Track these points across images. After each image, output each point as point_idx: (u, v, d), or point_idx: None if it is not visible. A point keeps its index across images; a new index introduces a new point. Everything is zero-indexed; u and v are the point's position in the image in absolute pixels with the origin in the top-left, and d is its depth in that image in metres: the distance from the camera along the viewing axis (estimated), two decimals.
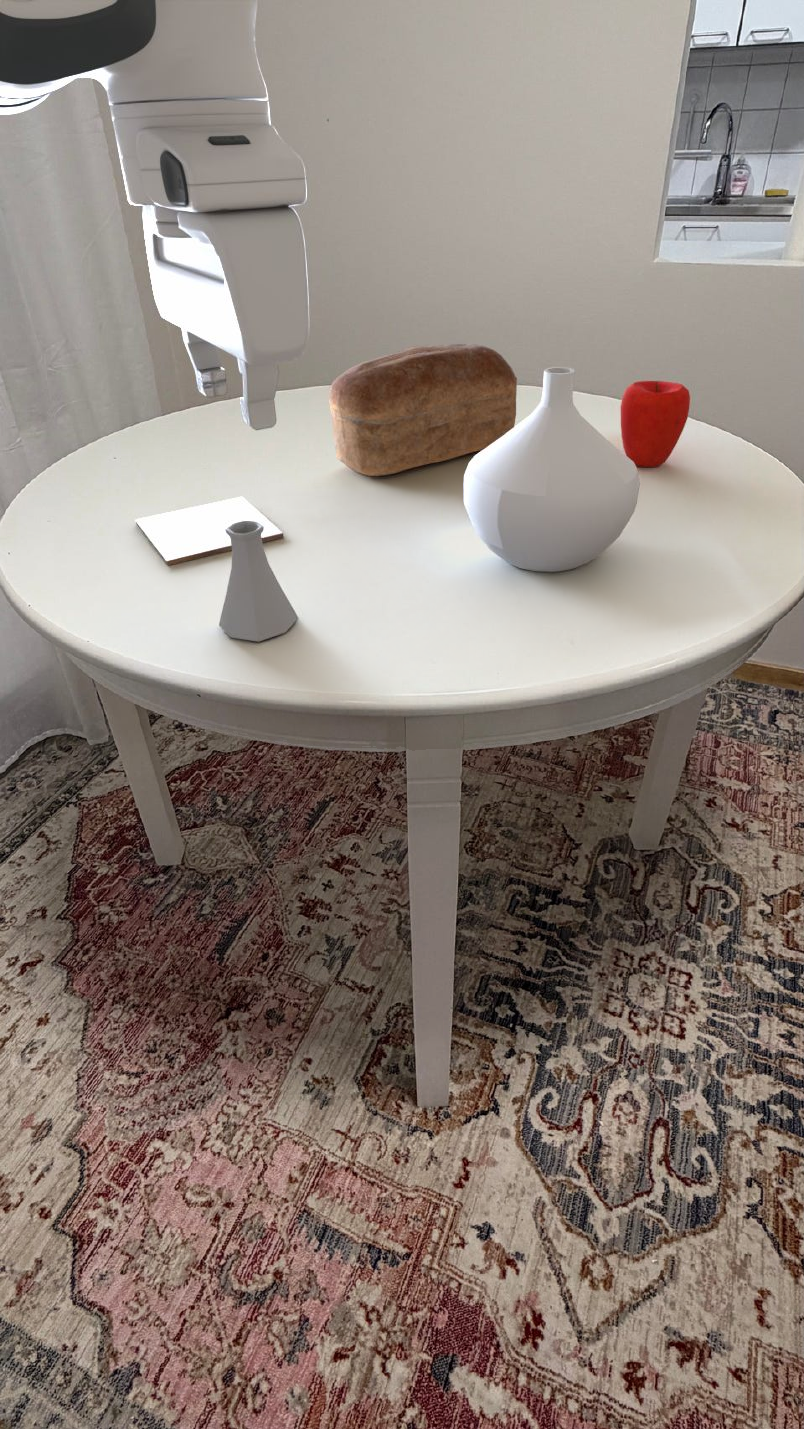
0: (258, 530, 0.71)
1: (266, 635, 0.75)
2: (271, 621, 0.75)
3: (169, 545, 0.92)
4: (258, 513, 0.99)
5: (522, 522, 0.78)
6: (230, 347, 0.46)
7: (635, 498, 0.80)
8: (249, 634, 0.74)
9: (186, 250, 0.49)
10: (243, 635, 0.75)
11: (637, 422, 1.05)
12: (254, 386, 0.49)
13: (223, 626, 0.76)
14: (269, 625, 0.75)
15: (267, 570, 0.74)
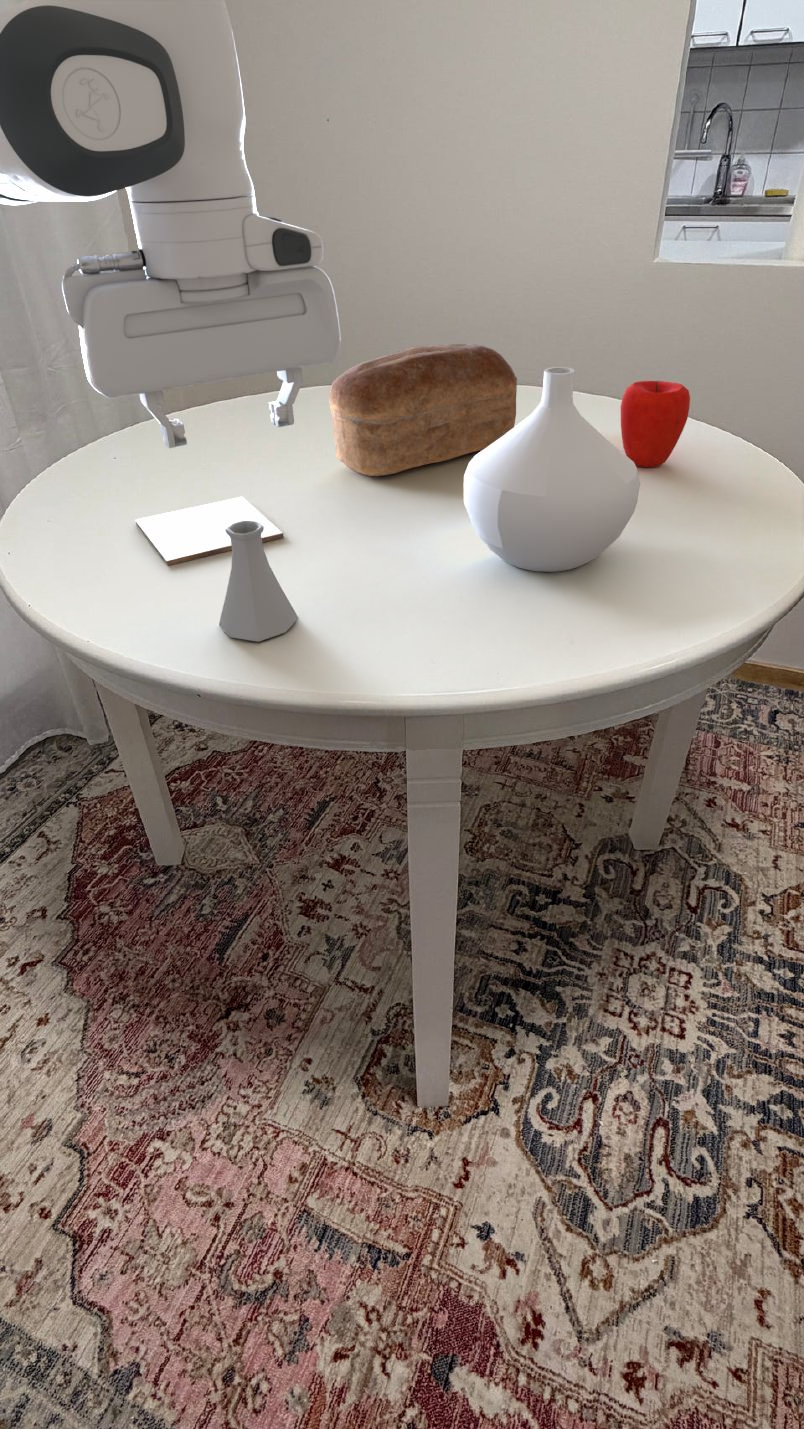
0: (258, 530, 0.71)
1: (266, 635, 0.75)
2: (271, 620, 0.75)
3: (169, 545, 0.92)
4: (258, 513, 0.99)
5: (522, 522, 0.78)
6: (303, 360, 0.65)
7: (635, 498, 0.80)
8: (249, 634, 0.74)
9: (213, 310, 0.60)
10: (243, 635, 0.75)
11: (637, 422, 1.05)
12: None
13: (223, 626, 0.76)
14: (269, 625, 0.75)
15: (267, 570, 0.74)
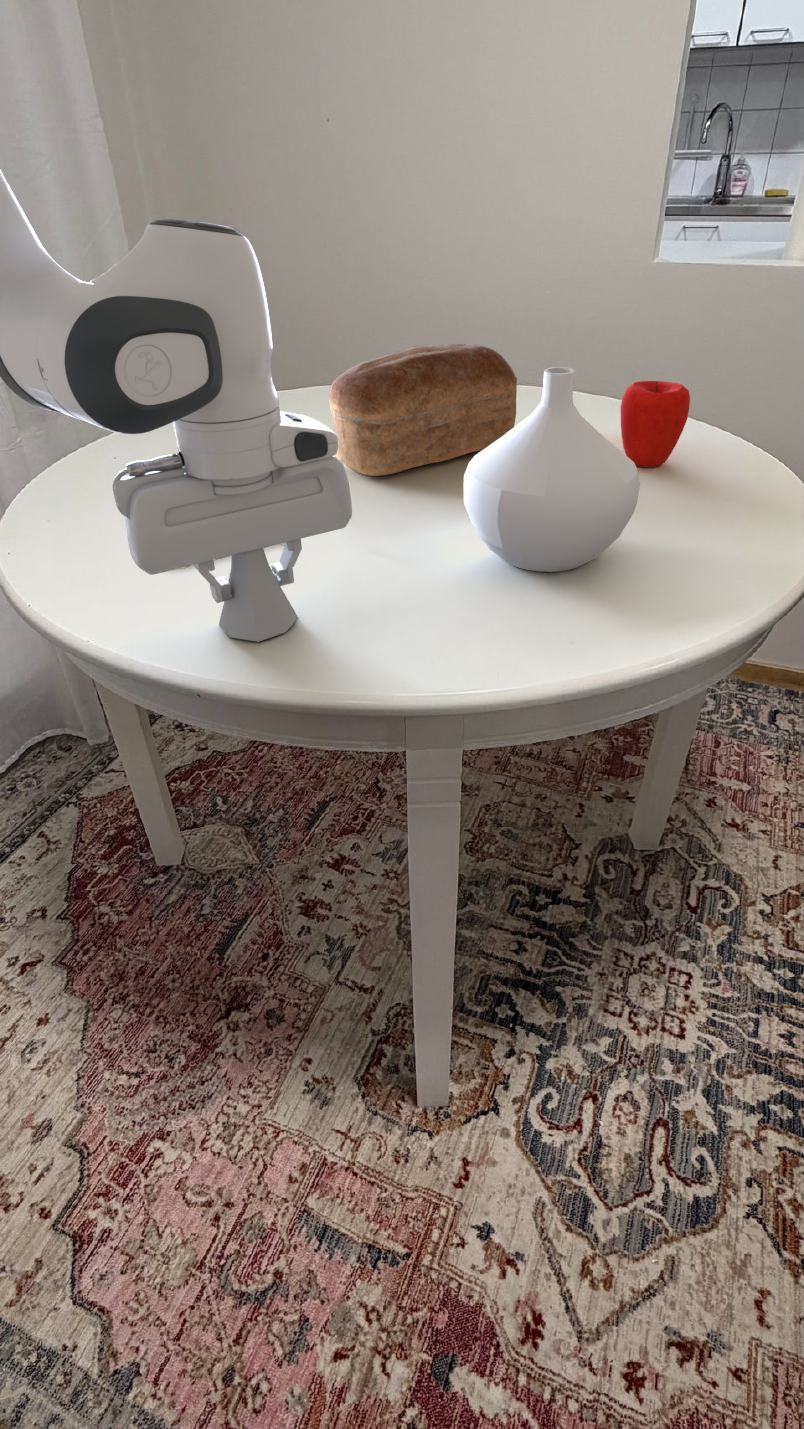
0: None
1: (266, 635, 0.75)
2: (271, 621, 0.75)
3: None
4: None
5: (522, 522, 0.78)
6: (319, 529, 0.74)
7: (635, 498, 0.80)
8: (249, 635, 0.74)
9: (242, 497, 0.69)
10: (243, 635, 0.75)
11: (637, 422, 1.05)
12: None
13: (223, 626, 0.76)
14: (269, 625, 0.75)
15: (267, 570, 0.74)
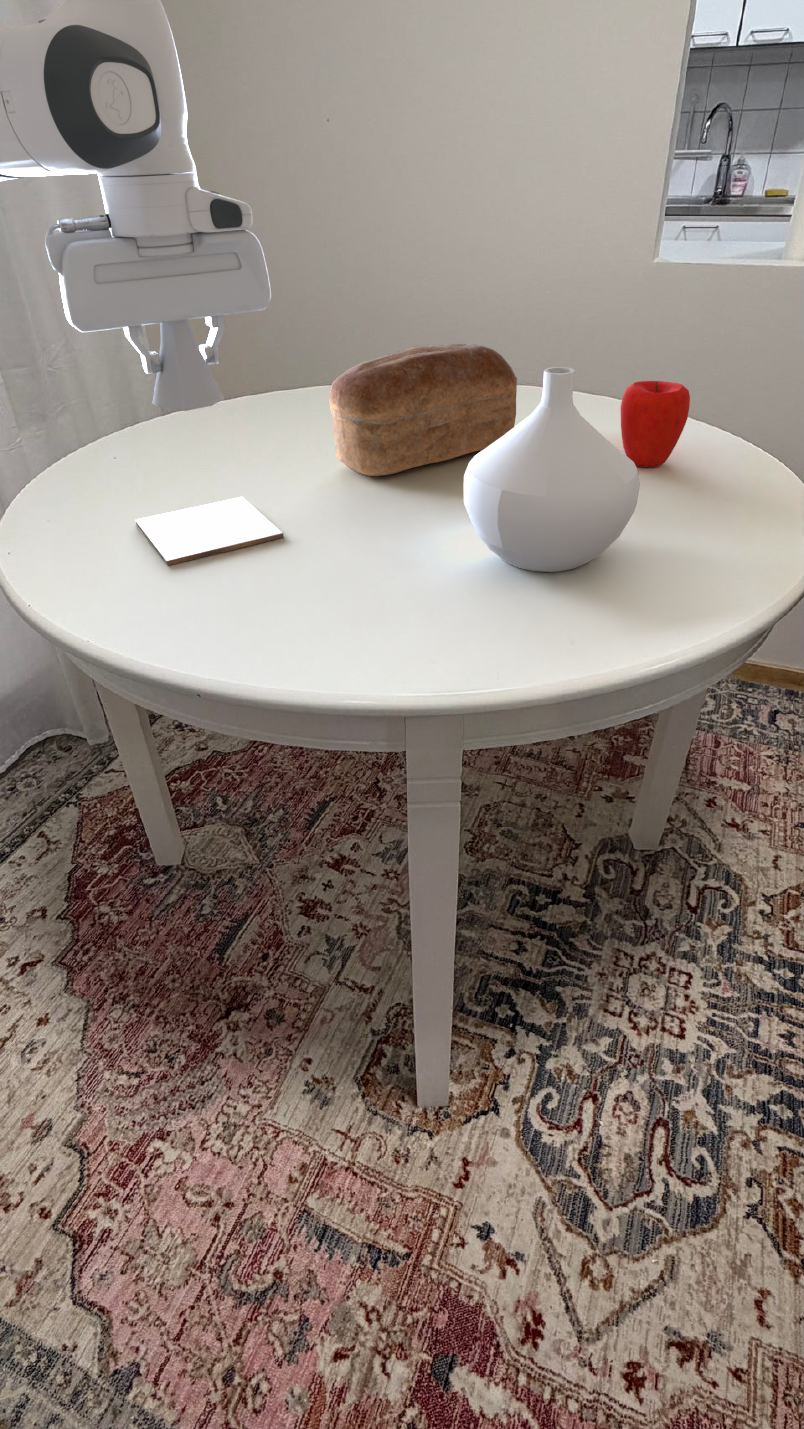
0: None
1: (193, 406, 0.82)
2: (198, 393, 0.82)
3: (169, 545, 0.92)
4: (258, 513, 0.99)
5: (522, 522, 0.78)
6: (240, 307, 0.81)
7: (635, 498, 0.80)
8: (177, 405, 0.82)
9: (165, 264, 0.76)
10: (172, 406, 0.82)
11: (637, 422, 1.05)
12: None
13: (155, 402, 0.84)
14: (195, 397, 0.82)
15: (193, 345, 0.81)
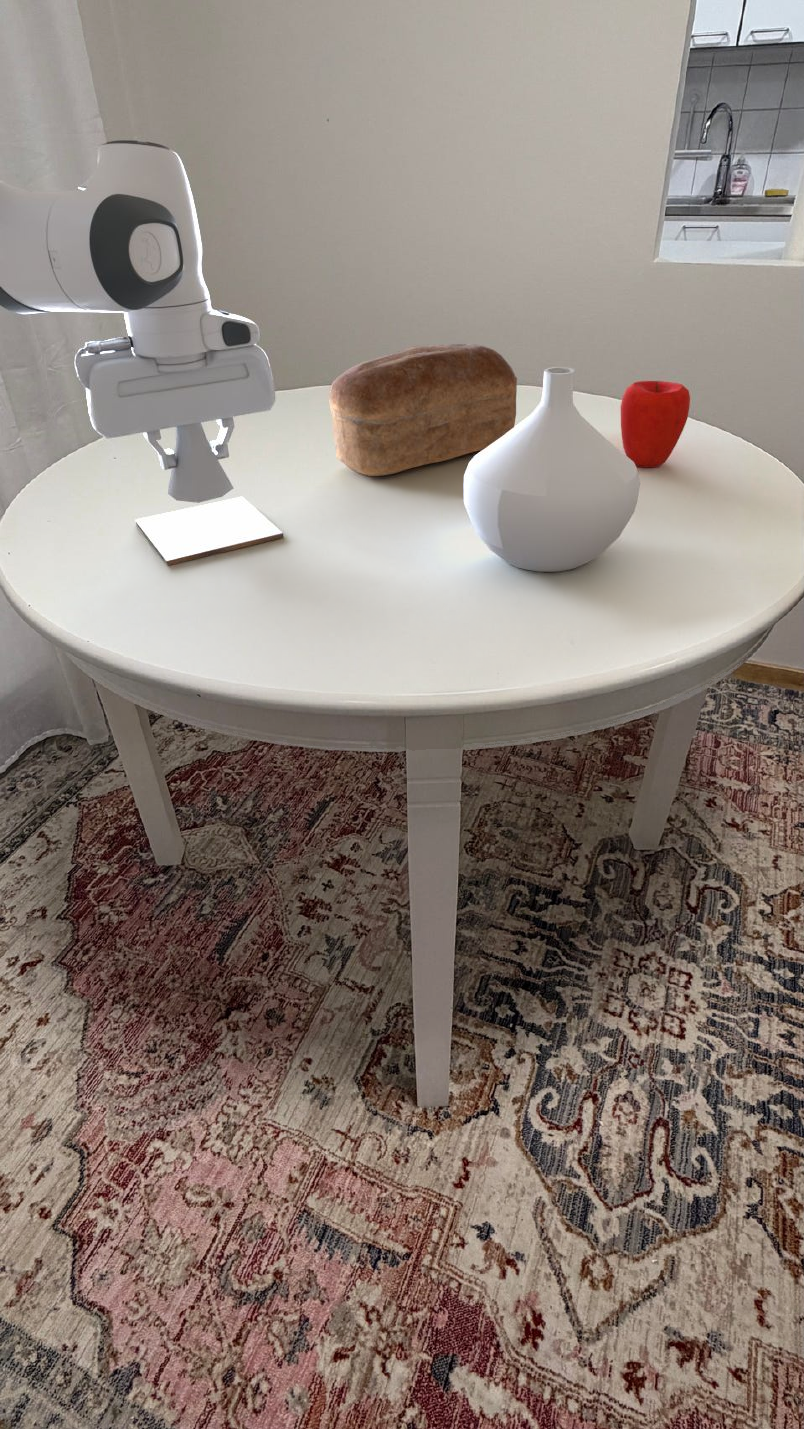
0: None
1: (205, 497, 0.91)
2: (209, 486, 0.91)
3: (169, 545, 0.92)
4: (258, 513, 0.99)
5: (522, 522, 0.78)
6: (248, 409, 0.90)
7: (635, 498, 0.80)
8: (190, 497, 0.91)
9: (181, 377, 0.85)
10: (186, 498, 0.91)
11: (637, 422, 1.05)
12: None
13: (170, 493, 0.92)
14: (207, 489, 0.91)
15: (205, 443, 0.90)
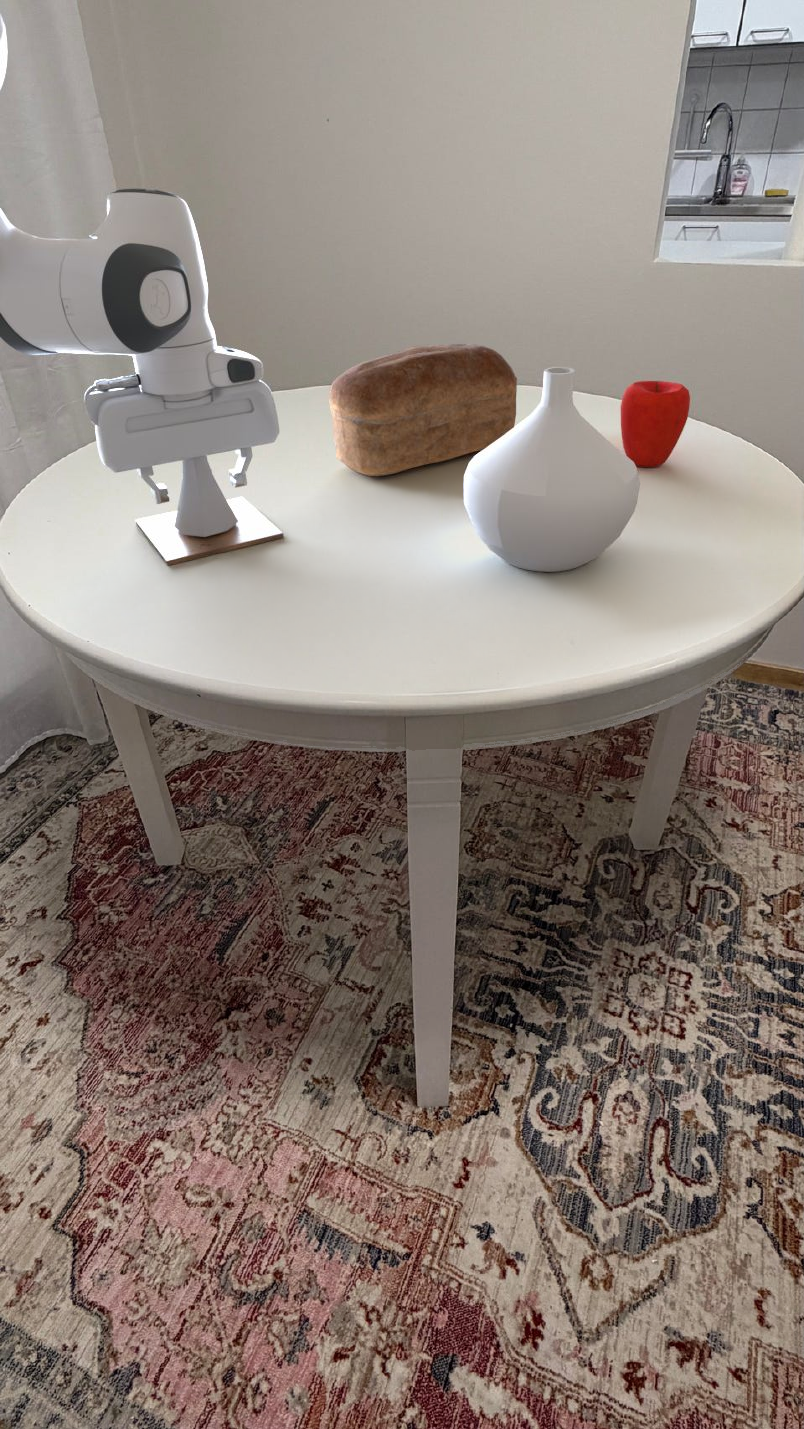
0: None
1: (211, 532, 0.93)
2: (215, 520, 0.93)
3: (169, 545, 0.92)
4: (258, 513, 0.99)
5: (522, 522, 0.78)
6: (252, 442, 0.92)
7: (635, 498, 0.80)
8: (197, 531, 0.93)
9: (187, 412, 0.87)
10: (192, 532, 0.93)
11: (637, 422, 1.05)
12: None
13: (177, 527, 0.95)
14: (213, 524, 0.93)
15: (211, 479, 0.92)
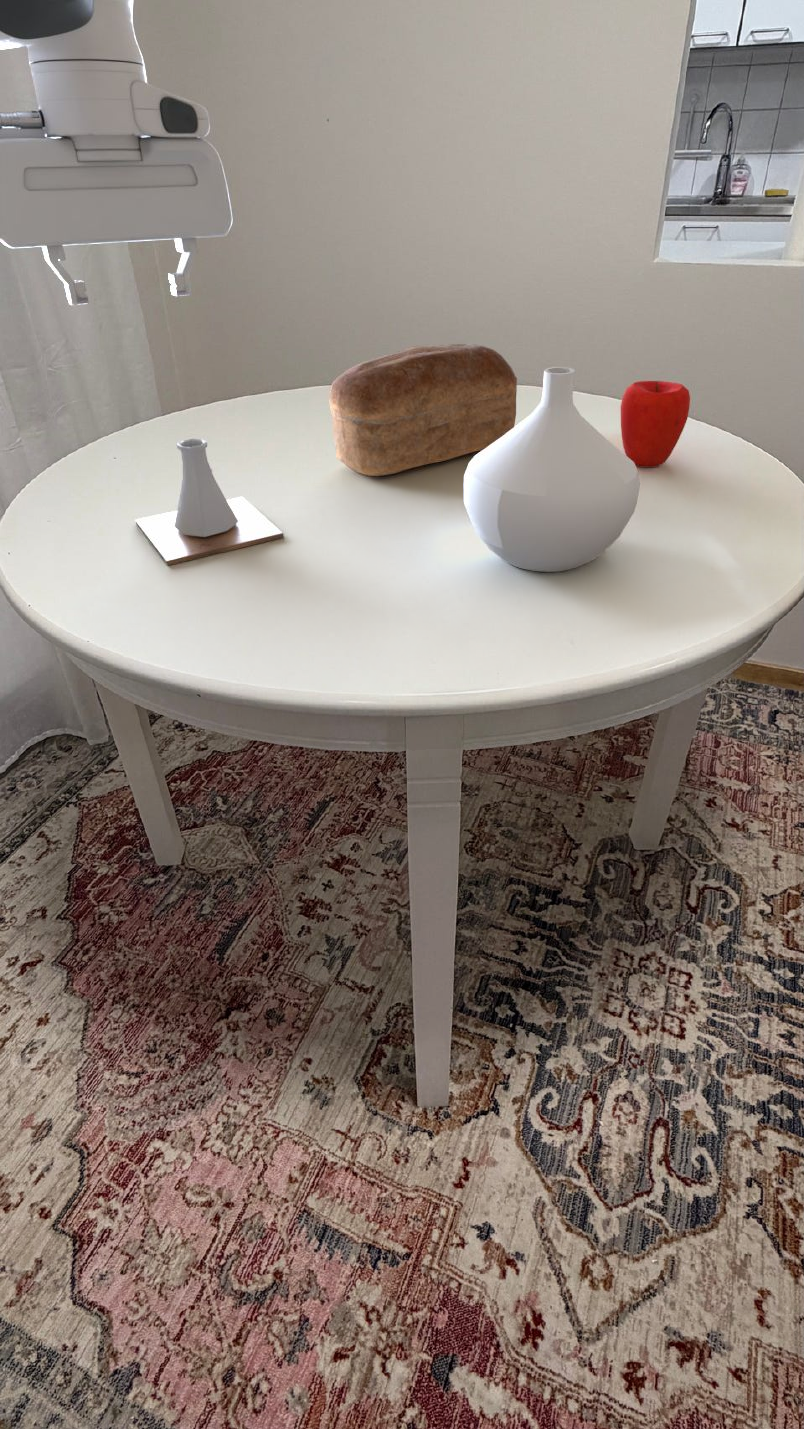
0: (202, 445, 0.90)
1: (211, 532, 0.93)
2: (215, 520, 0.93)
3: (169, 545, 0.92)
4: (258, 513, 0.99)
5: (522, 522, 0.78)
6: (196, 230, 0.72)
7: (635, 498, 0.80)
8: (197, 531, 0.93)
9: (109, 173, 0.67)
10: (192, 532, 0.93)
11: (637, 422, 1.05)
12: None
13: (177, 527, 0.95)
14: (213, 524, 0.93)
15: (211, 479, 0.92)
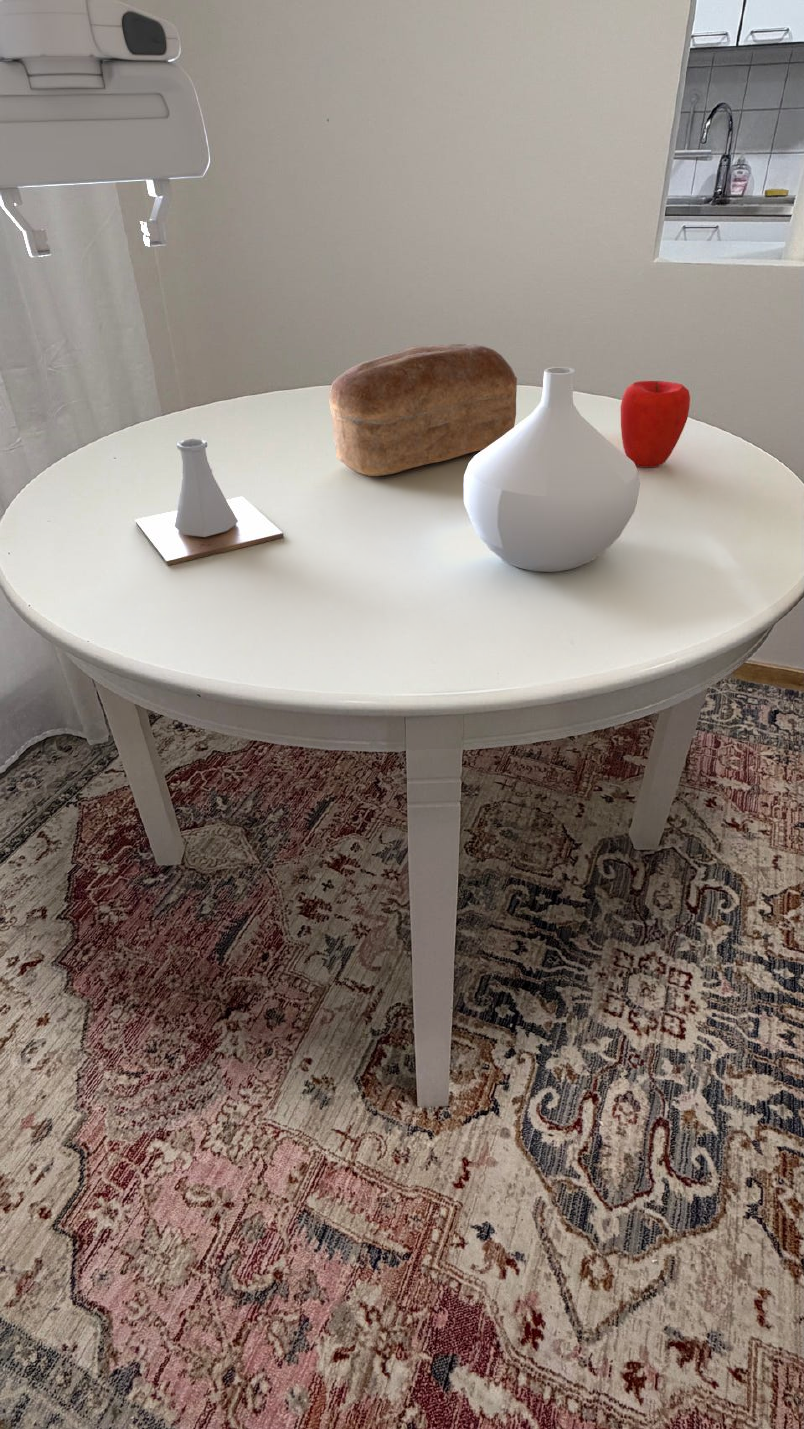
0: (202, 445, 0.90)
1: (211, 532, 0.93)
2: (215, 520, 0.93)
3: (169, 545, 0.92)
4: (258, 513, 0.99)
5: (522, 522, 0.78)
6: (170, 170, 0.64)
7: (635, 498, 0.80)
8: (197, 531, 0.93)
9: (67, 103, 0.59)
10: (192, 532, 0.93)
11: (637, 422, 1.05)
12: None
13: (177, 527, 0.95)
14: (213, 524, 0.93)
15: (211, 479, 0.92)
